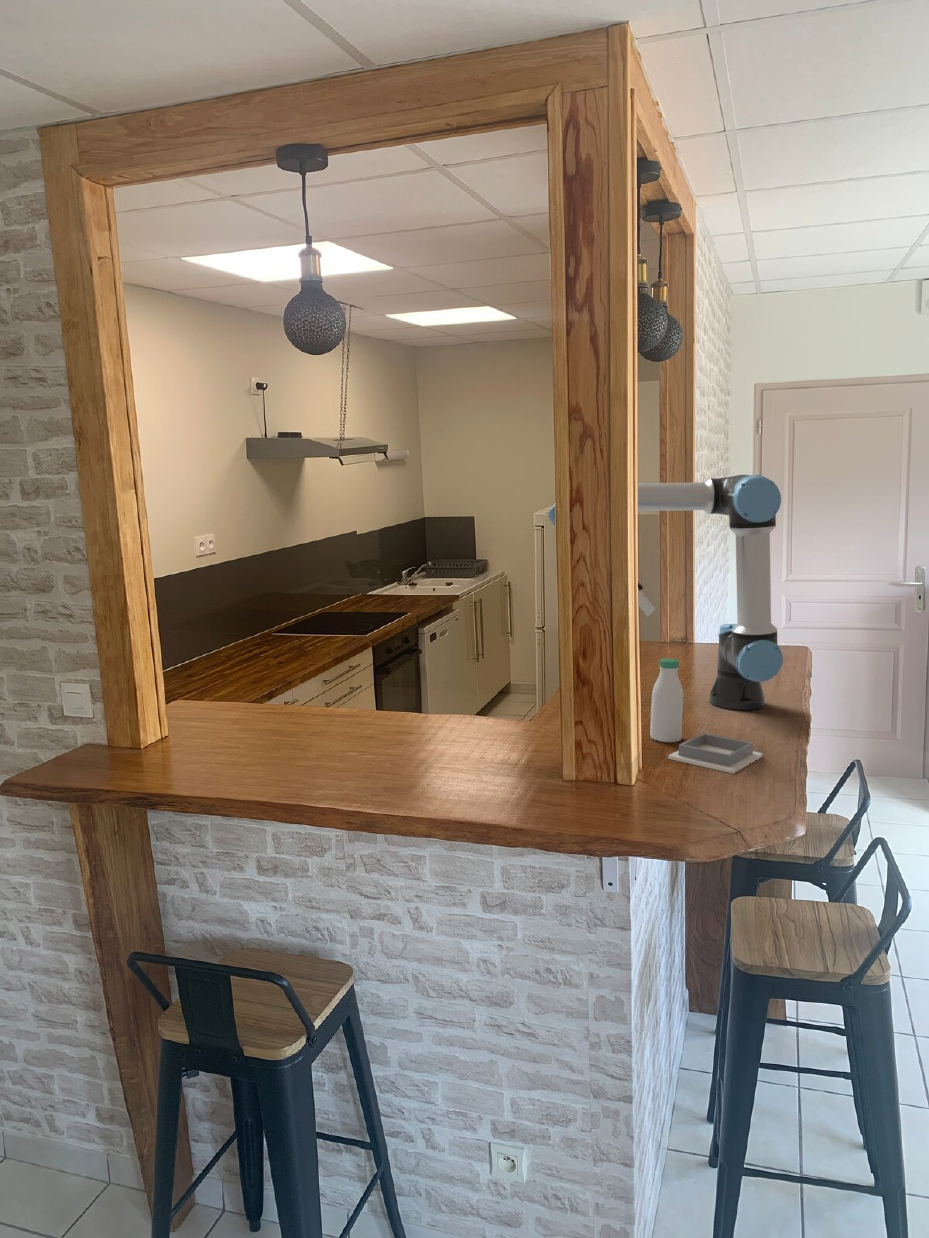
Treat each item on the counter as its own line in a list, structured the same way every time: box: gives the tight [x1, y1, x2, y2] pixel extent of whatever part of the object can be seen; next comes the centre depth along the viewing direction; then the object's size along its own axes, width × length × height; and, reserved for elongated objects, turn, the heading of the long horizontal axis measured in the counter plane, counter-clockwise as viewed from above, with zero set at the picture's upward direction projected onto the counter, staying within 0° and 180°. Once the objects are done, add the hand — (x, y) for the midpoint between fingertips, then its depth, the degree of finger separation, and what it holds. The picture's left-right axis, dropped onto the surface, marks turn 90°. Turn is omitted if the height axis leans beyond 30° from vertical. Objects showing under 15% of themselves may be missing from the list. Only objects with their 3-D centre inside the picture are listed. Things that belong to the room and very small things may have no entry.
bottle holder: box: [667, 732, 764, 775], centre depth 216 cm, size 16×16×3 cm
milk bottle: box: [649, 658, 684, 743], centre depth 229 cm, size 8×8×20 cm
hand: (641, 616), depth 235 cm, fingers open, 13 cm apart
